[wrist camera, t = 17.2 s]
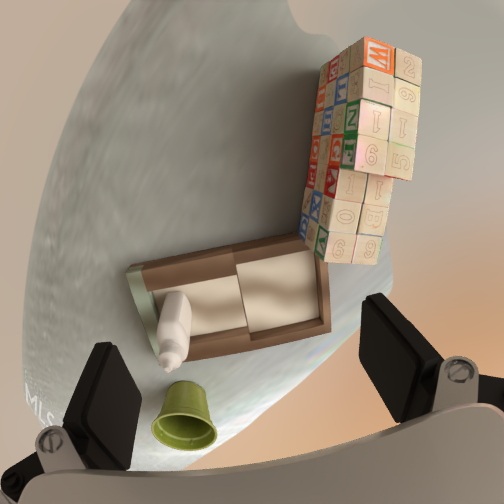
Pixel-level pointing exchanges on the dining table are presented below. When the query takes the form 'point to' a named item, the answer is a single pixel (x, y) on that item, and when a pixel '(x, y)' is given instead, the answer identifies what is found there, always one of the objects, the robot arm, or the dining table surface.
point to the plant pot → (185, 419)
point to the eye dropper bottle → (174, 331)
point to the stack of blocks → (359, 149)
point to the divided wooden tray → (238, 295)
